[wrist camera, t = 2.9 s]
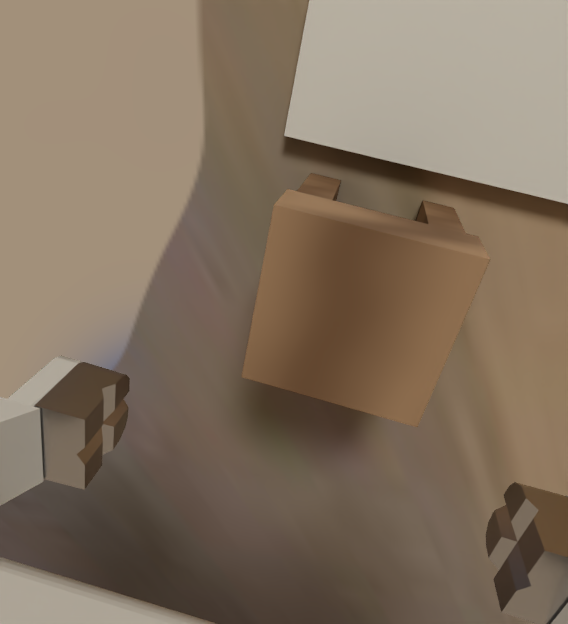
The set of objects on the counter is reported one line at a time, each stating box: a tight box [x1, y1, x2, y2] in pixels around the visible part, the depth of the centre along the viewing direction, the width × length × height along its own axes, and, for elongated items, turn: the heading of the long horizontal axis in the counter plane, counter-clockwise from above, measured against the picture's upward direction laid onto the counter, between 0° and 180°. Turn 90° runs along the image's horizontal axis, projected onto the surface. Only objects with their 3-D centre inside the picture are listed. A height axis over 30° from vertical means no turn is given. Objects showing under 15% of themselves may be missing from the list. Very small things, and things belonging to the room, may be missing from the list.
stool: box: [242, 173, 490, 427], centre depth 17 cm, size 6×6×6 cm
